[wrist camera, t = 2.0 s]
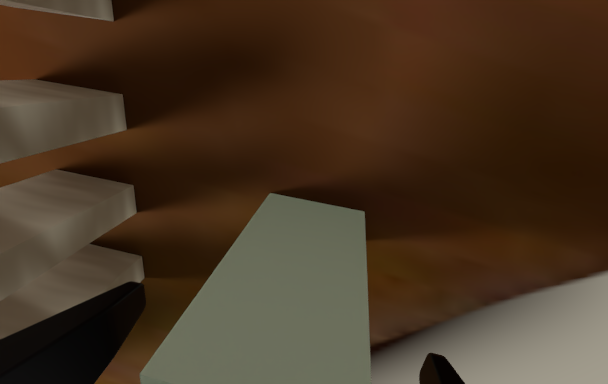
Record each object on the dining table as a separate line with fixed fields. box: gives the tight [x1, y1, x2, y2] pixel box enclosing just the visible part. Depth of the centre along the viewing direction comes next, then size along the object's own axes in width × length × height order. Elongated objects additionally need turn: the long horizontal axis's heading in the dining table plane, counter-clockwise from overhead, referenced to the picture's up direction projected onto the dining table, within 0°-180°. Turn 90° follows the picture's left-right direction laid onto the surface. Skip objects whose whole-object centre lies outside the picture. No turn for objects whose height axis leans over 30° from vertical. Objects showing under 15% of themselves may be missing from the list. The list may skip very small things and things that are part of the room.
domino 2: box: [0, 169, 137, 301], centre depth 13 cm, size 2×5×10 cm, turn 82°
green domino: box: [140, 193, 371, 384], centre depth 11 cm, size 2×5×10 cm, turn 82°
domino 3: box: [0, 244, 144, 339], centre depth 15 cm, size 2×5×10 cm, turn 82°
